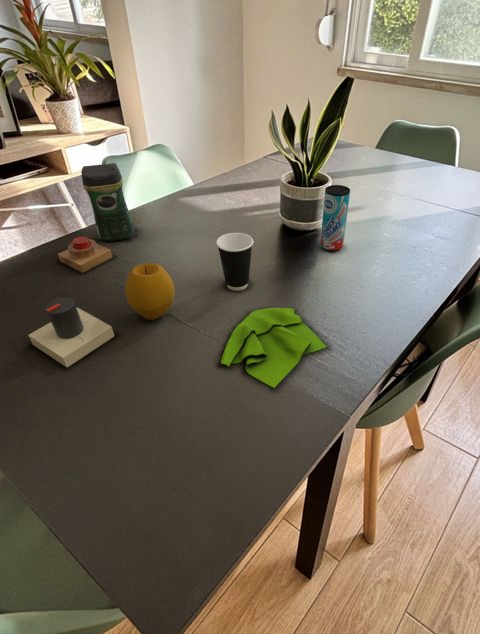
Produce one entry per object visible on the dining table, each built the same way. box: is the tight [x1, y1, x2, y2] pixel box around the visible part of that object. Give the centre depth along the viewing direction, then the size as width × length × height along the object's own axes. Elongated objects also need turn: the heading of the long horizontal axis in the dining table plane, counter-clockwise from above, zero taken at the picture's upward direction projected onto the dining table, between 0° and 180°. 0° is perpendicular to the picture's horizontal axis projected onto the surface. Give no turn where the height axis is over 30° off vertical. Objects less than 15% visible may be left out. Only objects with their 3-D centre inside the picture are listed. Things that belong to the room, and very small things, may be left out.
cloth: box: [220, 307, 328, 389], centre depth 82 cm, size 20×22×2 cm
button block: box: [57, 238, 113, 274], centre depth 106 cm, size 9×9×4 cm
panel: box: [27, 306, 115, 368], centre depth 83 cm, size 11×11×3 cm
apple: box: [124, 262, 176, 320], centre depth 86 cm, size 10×10×12 cm
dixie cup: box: [215, 232, 254, 292], centre depth 94 cm, size 8×8×11 cm
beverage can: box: [319, 184, 351, 252], centre depth 106 cm, size 6×6×15 cm
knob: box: [45, 297, 84, 339], centre depth 80 cm, size 5×5×6 cm
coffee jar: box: [80, 162, 136, 242], centre depth 110 cm, size 10×8×19 cm
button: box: [72, 236, 90, 250], centre depth 104 cm, size 4×4×2 cm
